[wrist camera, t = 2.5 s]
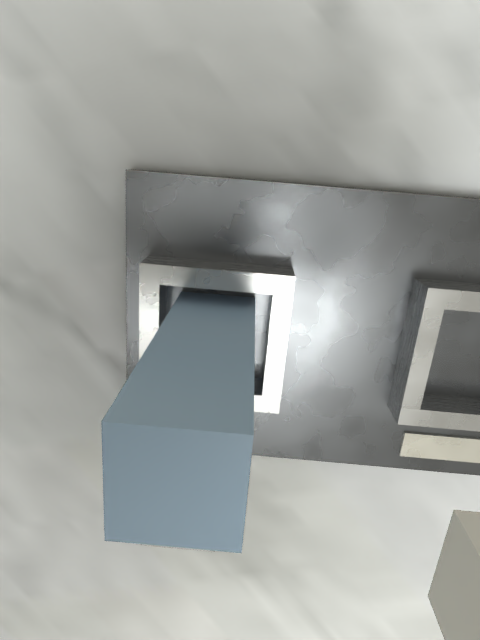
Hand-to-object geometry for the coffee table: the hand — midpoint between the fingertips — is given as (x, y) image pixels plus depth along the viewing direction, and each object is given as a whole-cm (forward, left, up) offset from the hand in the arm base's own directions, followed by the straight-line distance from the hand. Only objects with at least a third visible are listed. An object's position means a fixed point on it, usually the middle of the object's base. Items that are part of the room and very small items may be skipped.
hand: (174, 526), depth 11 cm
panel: (+7, 0, -16) cm, 17 cm away
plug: (0, 0, -15) cm, 15 cm away
